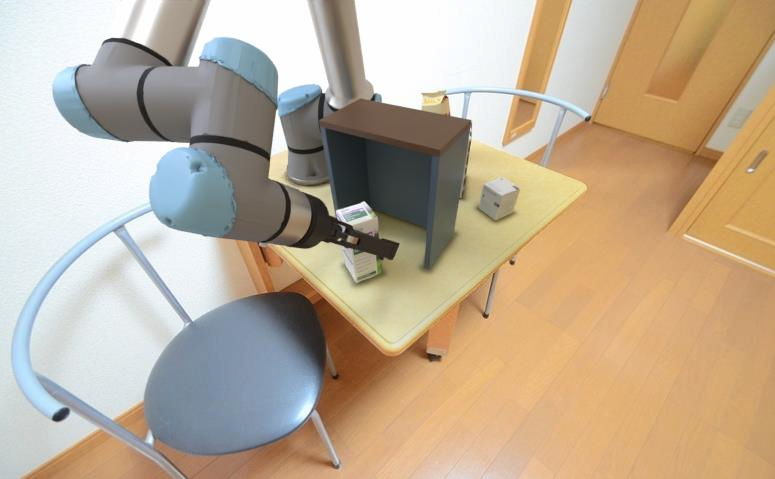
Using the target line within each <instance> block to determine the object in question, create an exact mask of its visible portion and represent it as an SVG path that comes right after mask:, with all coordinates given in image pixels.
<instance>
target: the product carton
mask: <svg viewBox="0 0 775 479" xmlns="http://www.w3.org/2000/svg"><path fill="white" fill-rule="evenodd" d="M521 190H522V189H521V187H519V186H518V185H516V184H515V183H513V182H512V181H510V180H508V179H506V178H505V177H503V176H500V177H498V178H495V179H492V180H490V181H486V182H484V183H483V186H482V189H481V193H480V198H479V202H478V209H479V210H480V211H481V212H483V213H484V214H486V216H488V217H489V218H491V219H492V220H493V221H498V220H500V219H502V218H505V217H506V216H510V215H511V214H513V213H514V209H515V207H516V203H517V201H518V198H519V195H520V192H521Z"/></svg>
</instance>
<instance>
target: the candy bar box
mask: <svg viewBox="0 0 775 479" xmlns="http://www.w3.org/2000/svg"><path fill="white" fill-rule="evenodd" d="M470 120H471V126H470V133H469V140H468V146H467V153H466V159H465V165H464V172H463V178H462V185H461V191H460V198H459V199H463V198H464V193H465V186H466V179H467V172H468V166H469V159H470V153H471V145H472V139H473V138H472V137H473V136H472V135H473V120H472V119H470Z"/></svg>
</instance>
